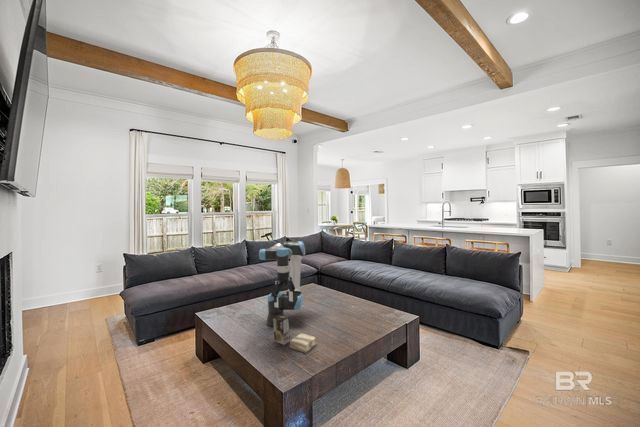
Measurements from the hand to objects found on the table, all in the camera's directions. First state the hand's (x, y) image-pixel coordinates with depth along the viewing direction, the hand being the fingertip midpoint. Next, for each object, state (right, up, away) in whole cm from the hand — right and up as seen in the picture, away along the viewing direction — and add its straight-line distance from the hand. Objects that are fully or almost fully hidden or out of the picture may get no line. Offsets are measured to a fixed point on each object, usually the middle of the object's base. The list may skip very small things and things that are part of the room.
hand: (283, 304), depth 185 cm
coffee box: (-2, -27, +4) cm, 27 cm away
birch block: (+13, -27, -2) cm, 30 cm away
